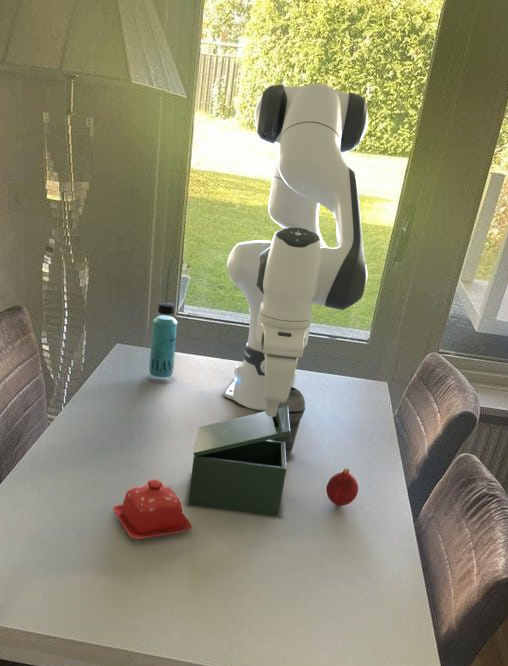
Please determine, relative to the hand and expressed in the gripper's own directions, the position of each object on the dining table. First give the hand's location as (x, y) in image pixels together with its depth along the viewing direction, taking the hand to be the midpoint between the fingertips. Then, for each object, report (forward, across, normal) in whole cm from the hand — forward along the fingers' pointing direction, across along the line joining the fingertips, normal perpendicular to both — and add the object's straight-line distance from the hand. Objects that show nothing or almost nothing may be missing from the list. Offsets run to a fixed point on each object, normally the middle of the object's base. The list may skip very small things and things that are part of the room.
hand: (270, 407), depth 124 cm
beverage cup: (+19, -20, +5) cm, 28 cm away
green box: (+19, 0, -4) cm, 19 cm away
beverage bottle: (+19, -58, -26) cm, 66 cm away
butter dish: (+19, +14, -18) cm, 30 cm away
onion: (+19, -1, +16) cm, 25 cm away
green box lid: (+6, 0, -4) cm, 7 cm away
